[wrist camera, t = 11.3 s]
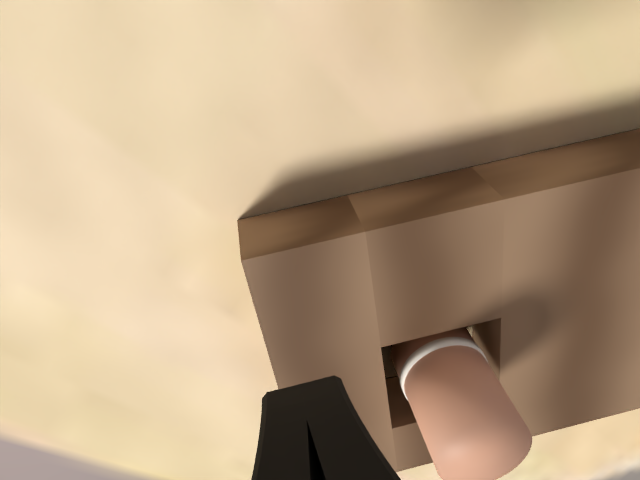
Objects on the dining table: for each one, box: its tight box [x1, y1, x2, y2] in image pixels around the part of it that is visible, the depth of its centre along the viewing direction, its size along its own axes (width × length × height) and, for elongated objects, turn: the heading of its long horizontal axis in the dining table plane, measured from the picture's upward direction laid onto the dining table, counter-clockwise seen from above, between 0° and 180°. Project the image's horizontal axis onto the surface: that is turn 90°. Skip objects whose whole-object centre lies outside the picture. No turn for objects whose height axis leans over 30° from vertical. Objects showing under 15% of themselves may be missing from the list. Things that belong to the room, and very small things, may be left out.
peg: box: [391, 327, 532, 480], centre depth 20 cm, size 3×3×6 cm
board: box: [237, 129, 640, 472], centre depth 21 cm, size 16×12×2 cm
